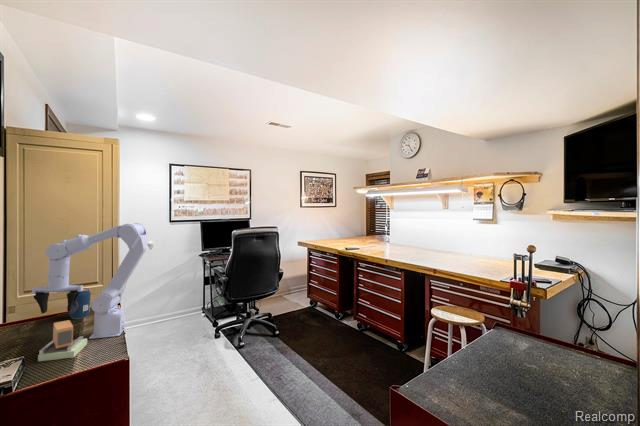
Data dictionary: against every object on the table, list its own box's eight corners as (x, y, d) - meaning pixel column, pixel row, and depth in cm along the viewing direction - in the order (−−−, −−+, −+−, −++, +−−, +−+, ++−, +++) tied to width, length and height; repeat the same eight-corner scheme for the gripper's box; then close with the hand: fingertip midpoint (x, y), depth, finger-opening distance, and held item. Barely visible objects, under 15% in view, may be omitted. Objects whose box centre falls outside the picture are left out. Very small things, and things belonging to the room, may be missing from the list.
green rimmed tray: (87, 343, 100) (87, 334, 100) (73, 357, 91) (74, 347, 91) (55, 347, 97) (55, 337, 97) (37, 361, 87) (38, 351, 88)
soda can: (65, 318, 123) (66, 291, 123) (82, 313, 129) (83, 287, 130) (76, 320, 121) (77, 292, 121) (93, 315, 127) (94, 288, 128)
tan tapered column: (68, 337, 98) (69, 319, 98) (72, 345, 92) (73, 326, 92) (52, 340, 95) (53, 322, 95) (56, 349, 89) (57, 330, 89)
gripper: (87, 272, 111) (85, 306, 111) (40, 273, 106) (38, 309, 106) (79, 276, 105) (77, 312, 105) (28, 277, 100) (26, 316, 100)
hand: (57, 311), depth 105 cm, fingers open, 7 cm apart
